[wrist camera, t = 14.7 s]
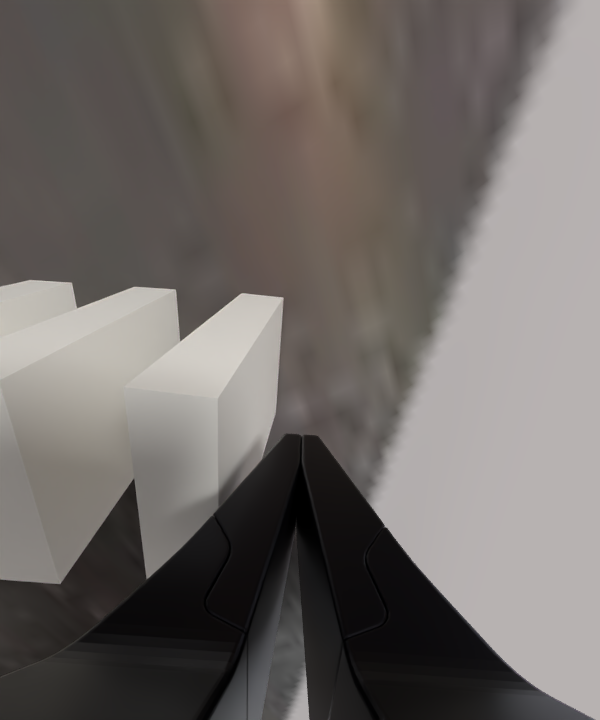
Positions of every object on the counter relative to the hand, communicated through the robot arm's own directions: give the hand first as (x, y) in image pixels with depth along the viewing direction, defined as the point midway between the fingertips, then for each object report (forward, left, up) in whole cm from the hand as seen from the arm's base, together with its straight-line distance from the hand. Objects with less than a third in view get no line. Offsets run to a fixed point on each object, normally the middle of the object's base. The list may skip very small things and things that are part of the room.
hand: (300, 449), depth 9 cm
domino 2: (0, +2, -6) cm, 6 cm away
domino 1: (0, +6, -6) cm, 8 cm away
